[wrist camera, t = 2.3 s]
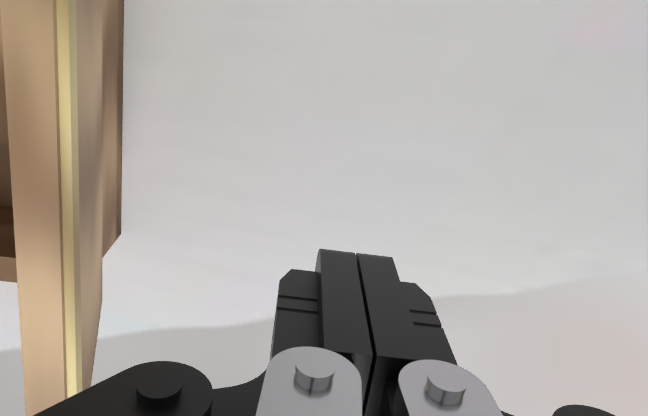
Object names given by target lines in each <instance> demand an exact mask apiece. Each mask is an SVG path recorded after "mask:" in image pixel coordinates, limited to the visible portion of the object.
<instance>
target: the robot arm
mask: <svg viewBox="0 0 648 416" xmlns="http://www.w3.org/2000/svg"><path fill="white" fill-rule="evenodd" d="M33 416H513V415H510V414H508V413H505V412H503V411H501V410H500V409H499V407H498V406H497V404H496V402H495V400H494V398H493V397H492V395H491V393H490V391H489V390H488V388H487V387H486V385H485V384H484V383H483V382H482V381H481V380H480V379H479V378H478V377H476V376H475V375H474V374H472V373H471V372H469V371H467V370H465V369H464V368H462V367H459V366H458V365H457V363H456V360H455V358H454V355H453V353H452V350H451V348H450V345H449V343H448V340H447V338H446V335H445V333H444V330H443V328H441V323H440V320H439V318H438V316H437V315H436V310H435V308H434V305H433V303H432V300H431V298H430V297H429V296H428V295H427V294H426V293H425V292H424V291H423V290H422V289H421V288H420V287H419V286H418V285H416V284H415V283H408V282H400V280H399V277H398V274H397V270H396V267H395V264H394V261H393V258H392V257H385V256H377V255H369V254H360V253H356V255H355V253H351V252H343V251H334V250H326V249H319V251H318V256H317V262H316V268H315V272H312V271H304V270H295V269H291V270H290V271H289V272H288V273H287V274H286V275H285V276H284V277H283V278H282V279H281V280H280V283H279V290H278V298H277V306H276V314H275V321H274V329H273V337H272V344H271V354H270V362H269V364H268V366H267V369H266V370H265V371H264V372H263V373H262V374H261V375H260V376H259V377H257V378H255V379H254V380H251V381H249V382H247V383H244V384H241V385H237V386H232V387H226V388H219V389H212V385H211V383H210V381H209V380H208V379H207V377H206V376H205V375H204V374H203V373H201V372H200V371H199V370H197V369H195V368H193V367H191V366H188V365H186V364H181V363H178V362H170V361H156V362H148V363H143V364H139V365H136V366H133V367H131V368H128V369H126V370H124V371H122V372H120V373H118V374H116V375H114V376H112V377H110V378H108V379H106V380H104V381H102V382H100V383H98V384H96V385H94V386H92V387H90V388H88V389H86V390H84V391H81V392H79V393H77V394H75V395H73V396H71V397H69V398H67V399H65V400H63V401H61V402H59V403H57V404H55V405H53V406H51V407H49V408H47V409H45V410H43V411H41V412H39V413H37V414H35V415H33ZM553 416H615V415H613V414H610V413H608V412H606V411H603V410H600V409H597V408H593V407H589V406H584V405H567V406H563V407H561V408H559V409H557V410H556V411H555V412H554V414H553Z"/></svg>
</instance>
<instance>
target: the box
mask: <svg viewBox="0 0 648 416" xmlns="http://www.w3.org/2000/svg"><path fill="white" fill-rule="evenodd" d="M123 25H124V0H102V258H103V256H104V255H105V254H106V253H107V251H108V250H109V249H110V247H111V246H112V245H113V243H114V242H115V241H116V240H117V238H118V237H119V236H120V234H121V183H122V104H123ZM0 281H7V282H17V267H16V251H15V235H14V219H13V203H12V187H11V171H10V155H9V139H8V123H7V107H6V91H5V75H4V58H3V42H2V26H1V10H0Z"/></svg>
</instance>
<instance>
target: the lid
mask: <svg viewBox="0 0 648 416" xmlns="http://www.w3.org/2000/svg"><path fill="white" fill-rule="evenodd" d="M0 10H1V26H2V42H3V58H4V75H5V91H6V107H7V123H8V139H9V155H10V171H11V187H12V203H13V219H14V235H15V251H16V267H17V283H18V299H19V315H20V331H21V347H22V363H23V379H24V395H25V410H26V416H33V415H35V414H37V413H39V412H41V411H43V410H45V409H47V408H49V407H51V406H53V405H55V404H57V403H59V402H61V401H63V400H65V399H67V398H69V397H71V396H73V395H75V394H77V393H79V392H81V391H84V390H86V389H88V388H90V387H91V380H92V372H93V364H94V356H95V348H96V342H97V334H98V327H99V319H100V312H101V304H102V0H0Z"/></svg>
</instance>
